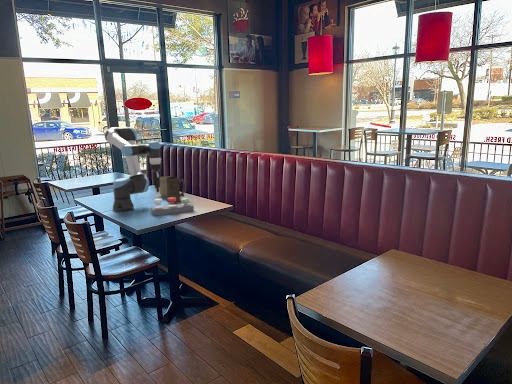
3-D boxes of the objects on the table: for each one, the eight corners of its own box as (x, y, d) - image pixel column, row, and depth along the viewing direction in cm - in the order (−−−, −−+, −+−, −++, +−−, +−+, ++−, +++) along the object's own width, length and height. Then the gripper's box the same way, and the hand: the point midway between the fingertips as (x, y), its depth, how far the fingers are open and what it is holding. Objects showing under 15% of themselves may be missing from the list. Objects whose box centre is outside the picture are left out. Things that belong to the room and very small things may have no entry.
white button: (154, 206, 264) (154, 200, 263) (153, 204, 269) (152, 199, 269) (163, 205, 267) (162, 199, 266) (161, 203, 272) (161, 198, 271)
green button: (182, 205, 273) (182, 199, 272) (180, 203, 278) (180, 198, 277) (190, 204, 275) (190, 199, 274) (188, 202, 281) (188, 197, 280)
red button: (168, 204, 268) (168, 199, 267) (167, 203, 274) (166, 197, 273) (177, 203, 271) (176, 198, 270) (175, 202, 276) (174, 196, 275)
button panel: (153, 215, 263) (153, 209, 262) (151, 212, 272) (150, 206, 271) (193, 210, 275) (193, 205, 274) (190, 208, 284) (189, 202, 283)
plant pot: (158, 194, 336) (157, 176, 333) (174, 193, 337) (173, 176, 334) (154, 197, 322) (153, 179, 319) (172, 197, 323) (171, 179, 319)
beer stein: (166, 202, 303) (166, 178, 299) (165, 199, 313) (165, 176, 309) (185, 202, 307) (185, 178, 303) (184, 199, 317) (184, 176, 313)
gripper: (162, 164, 258) (165, 197, 262) (159, 162, 269) (161, 194, 274) (151, 165, 255) (154, 198, 259) (148, 163, 266) (150, 195, 271)
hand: (157, 196), depth 267 cm, fingers closed
